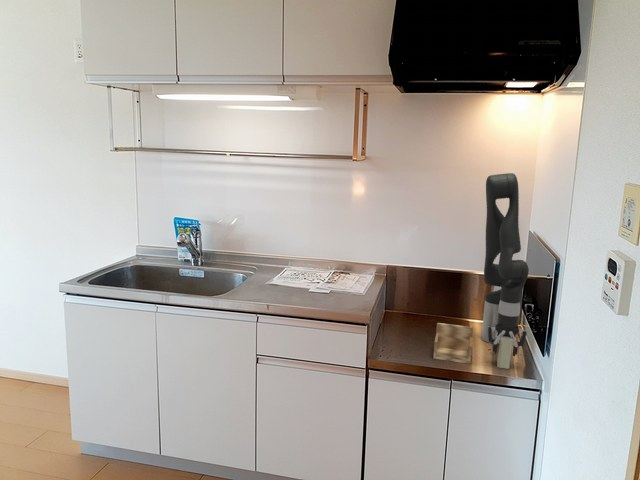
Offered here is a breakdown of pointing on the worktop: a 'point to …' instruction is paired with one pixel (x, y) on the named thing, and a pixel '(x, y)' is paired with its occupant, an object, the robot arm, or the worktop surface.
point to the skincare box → (504, 352)
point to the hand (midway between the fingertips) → (504, 353)
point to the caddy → (453, 343)
